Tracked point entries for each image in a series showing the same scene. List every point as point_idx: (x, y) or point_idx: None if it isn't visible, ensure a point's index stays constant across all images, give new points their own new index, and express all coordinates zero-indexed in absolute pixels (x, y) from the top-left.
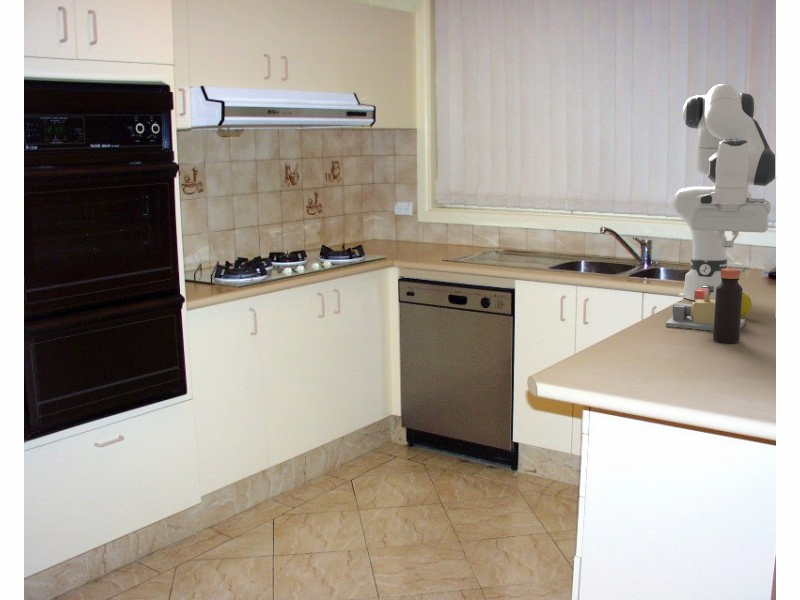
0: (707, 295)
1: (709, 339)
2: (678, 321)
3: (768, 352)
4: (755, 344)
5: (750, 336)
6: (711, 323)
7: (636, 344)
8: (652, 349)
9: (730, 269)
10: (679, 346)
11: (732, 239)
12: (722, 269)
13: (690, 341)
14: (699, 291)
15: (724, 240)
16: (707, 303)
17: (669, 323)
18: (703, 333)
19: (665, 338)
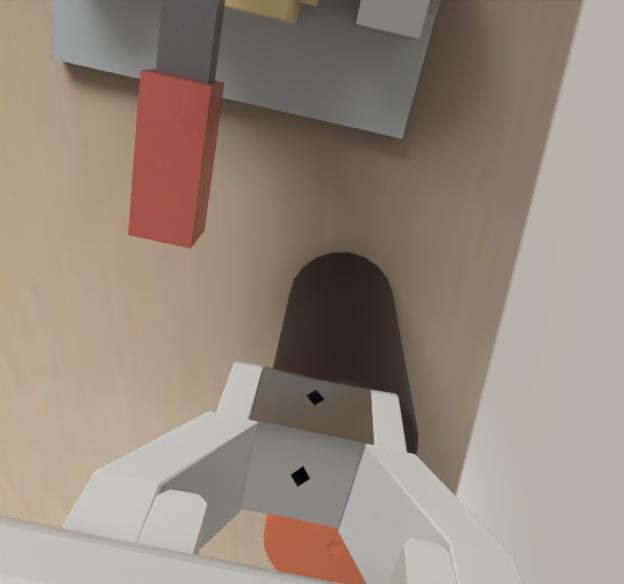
0: (220, 102)
1: (276, 284)
2: (107, 3)
3: (472, 429)
4: (450, 326)
5: (456, 182)
6: (282, 20)
7: (34, 417)
8: (99, 466)
9: (336, 538)
10: (176, 413)
11: (368, 567)
12: (275, 548)
13: (206, 334)
14: (161, 240)
15: (237, 504)
16: (234, 4)
17: (72, 63)
18: (250, 173)
19: (109, 308)
